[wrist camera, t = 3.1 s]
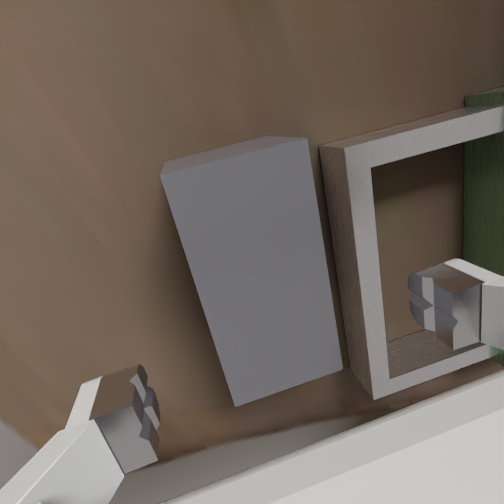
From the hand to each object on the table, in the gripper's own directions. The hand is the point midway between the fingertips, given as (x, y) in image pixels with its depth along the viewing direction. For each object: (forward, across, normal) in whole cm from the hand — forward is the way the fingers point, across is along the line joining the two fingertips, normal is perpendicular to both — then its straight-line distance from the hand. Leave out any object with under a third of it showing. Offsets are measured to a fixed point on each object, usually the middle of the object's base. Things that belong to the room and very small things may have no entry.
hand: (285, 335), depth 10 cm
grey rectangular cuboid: (+7, 0, -1) cm, 7 cm away
